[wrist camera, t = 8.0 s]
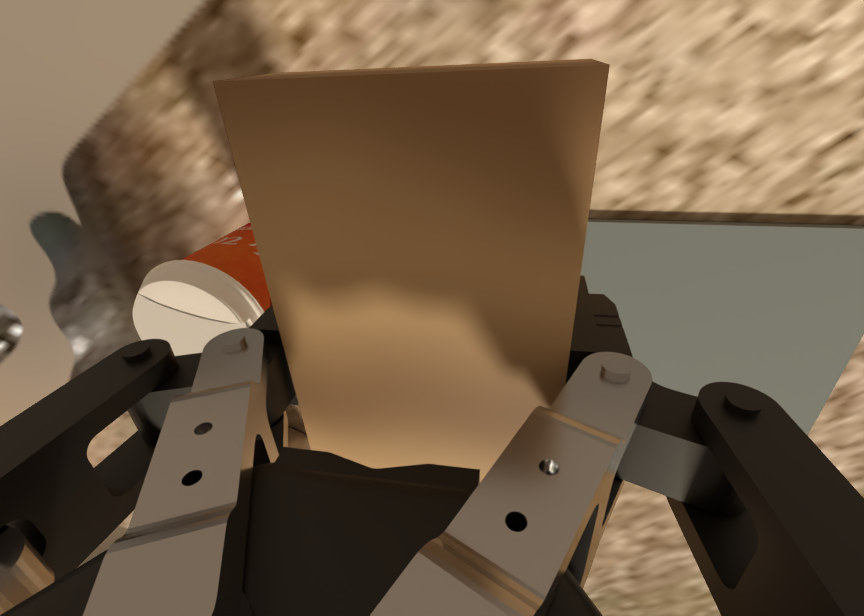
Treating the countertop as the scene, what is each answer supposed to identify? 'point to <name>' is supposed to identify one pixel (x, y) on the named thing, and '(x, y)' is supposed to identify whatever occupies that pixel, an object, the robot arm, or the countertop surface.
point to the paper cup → (203, 294)
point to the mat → (735, 303)
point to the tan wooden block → (420, 245)
